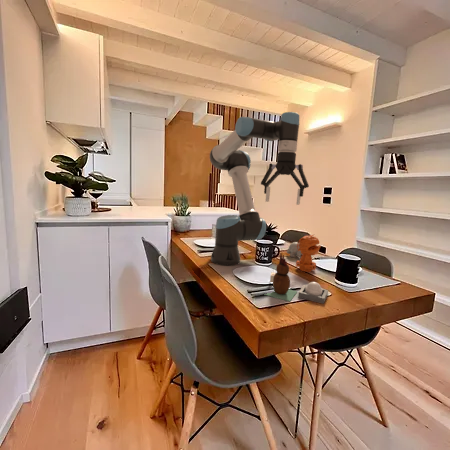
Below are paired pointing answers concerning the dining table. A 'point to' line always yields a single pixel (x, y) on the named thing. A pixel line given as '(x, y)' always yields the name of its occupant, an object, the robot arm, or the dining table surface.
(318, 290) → the dome
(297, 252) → the toy rhinoceros
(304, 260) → the toy dinosaur
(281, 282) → the wooden figurine
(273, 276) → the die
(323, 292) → the button housing
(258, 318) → the dining table surface
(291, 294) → the mat
